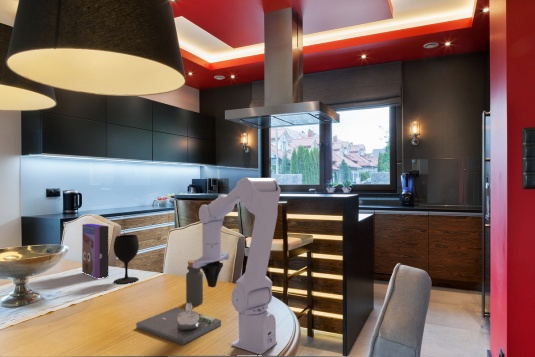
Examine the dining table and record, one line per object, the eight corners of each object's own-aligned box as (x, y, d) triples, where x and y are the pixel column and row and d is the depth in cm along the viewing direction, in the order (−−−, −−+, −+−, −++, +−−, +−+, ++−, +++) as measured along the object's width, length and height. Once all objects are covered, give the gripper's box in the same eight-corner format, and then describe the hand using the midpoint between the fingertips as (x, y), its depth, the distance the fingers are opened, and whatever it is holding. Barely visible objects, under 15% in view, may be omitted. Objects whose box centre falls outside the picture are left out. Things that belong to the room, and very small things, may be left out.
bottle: (195, 299, 124) (195, 258, 125) (206, 302, 121) (206, 260, 121) (182, 303, 120) (182, 261, 120) (193, 307, 116) (193, 263, 117)
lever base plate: (221, 325, 101) (221, 316, 101) (182, 345, 88) (182, 335, 88) (175, 311, 112) (175, 304, 112) (136, 328, 99) (136, 319, 99)
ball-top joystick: (198, 328, 94) (198, 315, 94) (176, 330, 93) (176, 317, 93) (198, 312, 106) (198, 301, 106) (179, 314, 105) (179, 302, 105)
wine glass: (136, 276, 157) (136, 233, 157) (140, 281, 148) (140, 236, 148) (112, 280, 151) (112, 235, 152) (115, 285, 143) (115, 238, 143)
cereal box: (82, 273, 164) (82, 224, 165) (92, 271, 168) (92, 223, 168) (97, 279, 153) (97, 226, 153) (108, 277, 156) (108, 225, 157)
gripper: (217, 238, 114) (218, 279, 113) (185, 245, 102) (185, 290, 101) (233, 240, 110) (234, 282, 109) (202, 247, 98) (202, 294, 97)
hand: (212, 286), depth 105 cm, fingers closed
